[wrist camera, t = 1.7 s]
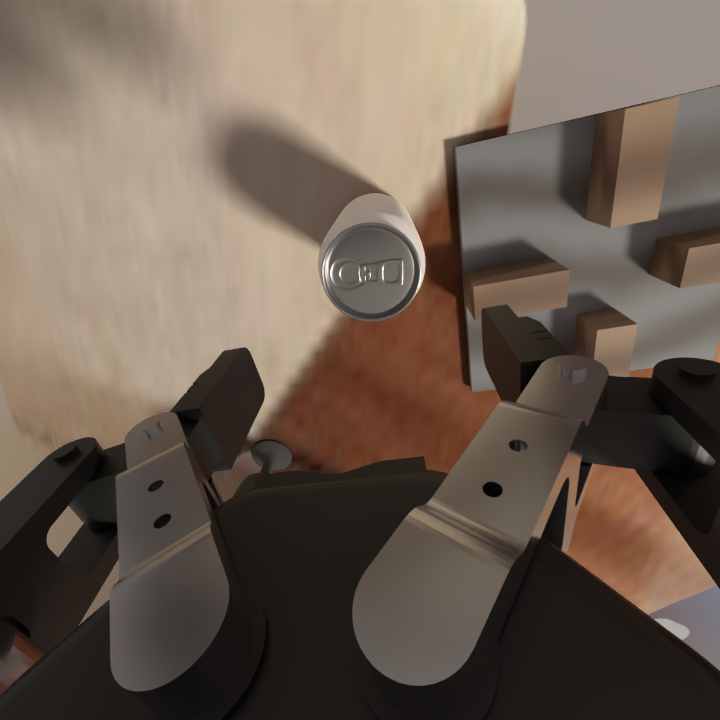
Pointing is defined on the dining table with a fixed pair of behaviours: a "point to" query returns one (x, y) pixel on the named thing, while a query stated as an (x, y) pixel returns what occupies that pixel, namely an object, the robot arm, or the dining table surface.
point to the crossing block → (599, 232)
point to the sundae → (266, 461)
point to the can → (372, 259)
